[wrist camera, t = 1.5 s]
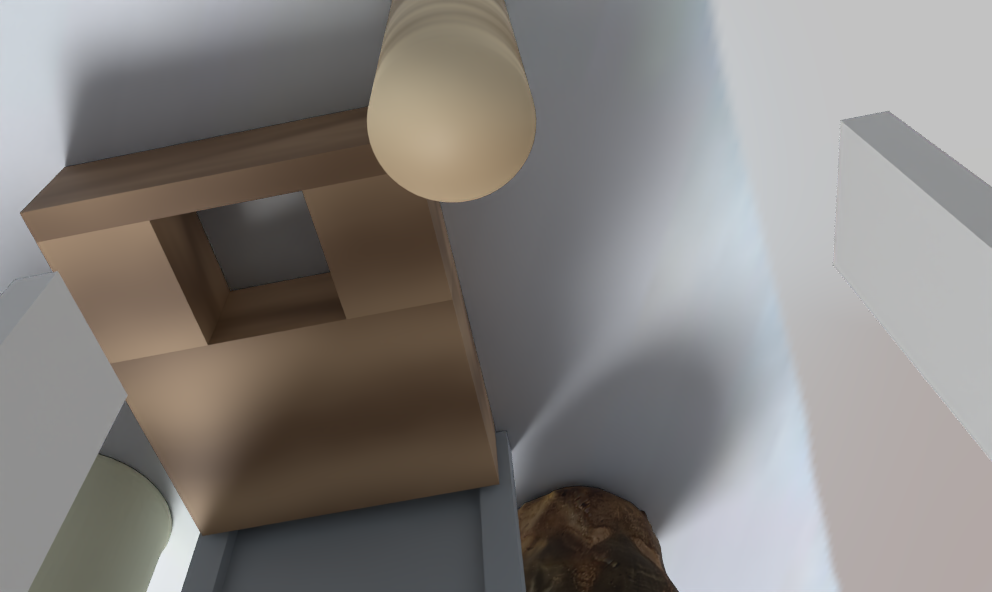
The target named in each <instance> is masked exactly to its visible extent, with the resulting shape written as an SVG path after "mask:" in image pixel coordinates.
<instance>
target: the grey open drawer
mask: <svg viewBox="0 0 992 592" xmlns="http://www.w3.org/2000/svg"><path fill="white" fill-rule="evenodd" d="M495 436H496V448H497V460H498V472H499V484H497V485H492V486H486V487H480V488H475V489H469V490H463V491H457V492H452V493H446V494H440V495H435V496H429V497H423V498H417V499H412V500H406V501H400V502H395V503H389V504H383V505H377V506H372V507H366V508H360V509H354V510H349V511H343V512H337V513H332V514H326V515H320V516H314V517H309V518H303V519H297V520H292V521H286V522H280V523H274V524H269V525H263V526H257V527H252V528H246V529H240V530H234V531H229V532H223V533H217V534H211V535H206V536H202V534H201V533H200V535H199V538H198V541H197V544H196V547H195V550H194V553H193V556H192V559H191V563H190V566H189V569H188V572H187V575H186V578H185V581H184V584H183V587H182V591H181V592H526V587H525V577H524V568H523V558H522V549H521V539H520V530H519V520H518V511H517V501H516V492H515V482H514V473H513V463H512V454H511V449H510V445H509V440H508V436H507V432H506V431H502V432H496V433H495Z"/></svg>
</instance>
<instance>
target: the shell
mask: <svg viewBox="0 0 992 592" xmlns="http://www.w3.org/2000/svg"><path fill="white" fill-rule="evenodd" d="M517 511H518V520H519V530H520V539H521V549H522V558H523V568H524V577H525V587H526V592H678V590H677V588H676V587H675V586H674V584H673V583H672V581H671V580H670V579H669V577H668V576H667V574H666V571H665V568H664V564H663V560H662V553H661V547H660V544H659V541H658V539H657V537H656V535H655V534H654V532H653V530H652V526H651V524H650V523H649V521H648V519H647V516H646V514H645V512H644V511H640V510H639V509H638V508H637V507H636V506H634V505H633V504H632V503H631V502H629V501H627V500H624V499H622V498H620V497H618V496H616V495H613V494H611V493H609V492H606V491H604V490H602V489H600V488H593V487H585V486H576V487H565V488H562V489H559V490H555V491H553V492H551V493H550V494H547V495H545V496H542V497H540V498H537V499H535V500H532V501H530V502H526V503H525V504H524V505H523V506H522V507H521V508H520V509H518V510H517Z"/></svg>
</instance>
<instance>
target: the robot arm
mask: <svg viewBox="0 0 992 592" xmlns="http://www.w3.org/2000/svg"><path fill="white" fill-rule="evenodd" d="M833 256H834V257H833V266H834V267H835V269H836V270H837V271H838V272H839V273H840V275H841V276H842V277H843V278H844V280H845V281H846V282H847V283H848V285H849V286H850V287H851V288H852V290H853V291H854V292H855V293H856V294H857V296H858V297H859V298H860V299H861V301H862V302H863V303H864V304H865V306H866V307H867V308H868V309H869V311H870V312H871V313H872V314H873V316H874V317H875V318H876V319H877V320H878V322H879V323H880V324H881V325H882V327H883V328H884V329H885V330H886V332H887V333H888V334H889V335H890V337H891V338H892V339H893V340H894V341H895V343H896V344H897V345H898V346H899V348H900V349H901V350H902V351H903V353H904V354H905V355H906V356H907V357H908V359H909V360H910V361H911V363H912V364H913V365H914V366H915V367H916V369H917V370H918V371H919V372H920V374H921V375H922V376H923V377H924V379H925V380H926V381H927V382H928V383H929V385H930V386H931V387H932V388H933V390H934V391H935V392H936V393H937V394H938V396H939V397H940V398H941V400H942V401H943V402H944V403H945V405H946V406H947V407H948V408H949V409H950V410H951V412H952V413H953V414H954V416H955V417H956V418H957V419H958V421H959V422H960V423H961V424H962V425H963V427H964V428H965V429H966V430H967V432H968V433H969V434H970V435H971V437H972V438H973V439H974V440H975V442H976V443H977V444H978V445H979V447H980V448H981V449H982V450H983V451H984V453H985V454H986V455H987V456H988V458H989V459H990V460H991V461H992V187H991V186H990V185H988V184H987V183H986V182H984V181H983V180H982V179H980V178H979V177H977V176H976V175H975V174H973V173H972V172H970V171H969V170H968V169H967V168H965V167H964V166H963V165H961V164H960V163H959V162H957V161H956V160H954V159H953V158H952V157H950V156H949V155H948V154H946V153H945V152H944V151H942V150H941V149H940V148H938V147H937V146H935V145H934V144H933V143H931V142H930V141H929V140H927V139H926V138H925V137H923V136H922V135H921V134H919V133H918V132H917V131H915V130H914V129H912V128H911V127H910V126H908V125H907V124H906V123H904V122H903V121H902V120H900V119H899V118H898V117H896V116H895V115H893V114H892V113H891V112H889V111H886V112H881V113H876V114H870V115H865V116H860V117H855V118H849V119H844V120H841V121H840V140H839V159H838V178H837V197H836V217H835V236H834V255H833ZM127 396H128V395H127V393H126V391H125V390H124V388H123V386H122V384H121V382H120V381H119V379H118V377H117V375H116V374H115V372H114V370H113V368H112V366H111V365H110V363H109V361H108V359H107V357H106V356H105V354H104V352H103V350H102V349H101V347H100V345H99V343H98V341H97V340H96V338H95V336H94V334H93V333H92V331H91V329H90V327H89V325H88V324H87V322H86V320H85V318H84V317H83V315H82V313H81V311H80V309H79V308H78V306H77V304H76V302H75V301H74V299H73V297H72V295H71V293H70V292H69V290H68V288H67V286H66V285H65V283H64V281H63V279H62V277H61V276H60V274H59V272H58V271H56V272H51V273H46V274H41V275H36V276H30V277H25V278H20V279H15V280H14V281H13V282H12V283H11V284H10V286H9V287H8V288H7V289H6V290H5V291H4V293H3V294H2V295H1V296H0V592H28V590H29V588H30V586H31V584H32V582H33V580H34V579H35V577H36V575H37V573H38V571H39V569H40V567H41V565H42V563H43V561H44V559H45V557H46V555H47V553H48V551H49V549H50V547H51V545H52V543H53V541H54V539H55V537H56V535H57V533H58V531H59V529H60V527H61V525H62V524H63V522H64V520H65V518H66V516H67V514H68V512H69V510H70V508H71V506H72V504H73V502H74V500H75V498H76V496H77V494H78V492H79V490H80V488H81V486H82V484H83V482H84V480H85V478H86V476H87V474H88V472H89V470H90V468H91V467H92V465H93V463H94V461H95V459H96V457H97V455H98V453H99V451H100V449H101V447H102V445H103V443H104V441H105V439H106V437H107V435H108V433H109V431H110V429H111V427H112V425H113V423H114V421H115V419H116V417H117V415H118V413H119V412H120V410H121V408H122V406H123V404H124V402H125V400H126V398H127Z"/></svg>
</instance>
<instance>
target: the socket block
mask: <svg viewBox="0 0 992 592" xmlns="http://www.w3.org/2000/svg"><path fill="white" fill-rule="evenodd" d="M367 111H368V107H363V108H358V109H353V110H348V111H343V112H338V113H333V114H328V115H323V116H318V117H313V118H308V119H303V120H298V121H293V122H288V123H283V124H278V125H273V126H268V127H263V128H258V129H253V130H248V131H243V132H238V133H233V134H228V135H223V136H218V137H213V138H208V139H203V140H198V141H193V142H188V143H183V144H178V145H173V146H168V147H163V148H158V149H153V150H148V151H143V152H138V153H133V154H128V155H123V156H118V157H113V158H108V159H103V160H98V161H93V162H88V163H83V164H78V165H73V166H68V167H64V168H63V169H62V170H61V171H60V172H59V173H58V174H57V175H56V177H55V178H54V179H53V180H52V181H51V182H50V183H49V184H48V185H47V186H46V187H45V188H44V189H43V190H42V191H41V192H40V193H39V194H38V195H37V196H36V197H35V198H34V199H33V200H32V201H31V202H30V203H29V204H28V205H27V206H26V207H25V208H24V209H23V210H22V211H21V212H20V214H21V216H22V218H23V220H24V222H25V223H26V225H27V227H28V229H29V230H30V232H31V234H32V236H33V237H34V239H35V241H36V243H37V245H38V246H39V248H40V250H41V252H42V253H43V255H44V257H45V259H46V260H47V262H48V264H49V266H50V268H51V269H52V271H53V272H56V271H58V272H59V274H60V276H61V277H62V279H63V281H64V283H65V285H66V286H67V288H68V290H69V292H70V293H71V295H72V297H73V299H74V301H75V302H76V304H77V306H78V308H79V309H80V311H81V313H82V315H83V317H84V318H85V320H86V322H87V324H88V325H89V327H90V329H91V331H92V333H93V334H94V336H95V338H96V340H97V341H98V343H99V345H100V347H101V349H102V350H103V352H104V354H105V356H106V357H107V359H108V361H109V363H110V365H111V366H112V368H113V370H114V372H115V374H116V375H117V377H118V379H119V381H120V382H121V384H122V386H123V388H124V390H125V391H126V393H127V395H128V396H127V398H126V402H127V404H128V405H129V407H130V409H131V411H132V412H133V414H134V416H135V418H136V420H137V421H138V423H139V425H140V427H141V428H142V430H143V432H144V434H145V435H146V437H147V439H148V441H149V443H150V444H151V446H152V448H153V450H154V451H155V453H156V455H157V457H158V458H159V460H160V462H161V464H162V465H163V467H164V469H165V471H166V473H167V474H168V476H169V478H170V480H171V481H172V483H173V485H174V487H175V488H176V490H177V492H178V494H179V496H180V497H181V499H182V501H183V503H184V504H185V506H186V508H187V510H188V511H189V513H190V515H191V517H192V519H193V520H194V522H195V524H196V526H197V527H198V529H199V531H200V533H201V534H202V536H206V535H211V534H217V533H223V532H229V531H234V530H240V529H246V528H252V527H257V526H263V525H269V524H274V523H280V522H286V521H292V520H297V519H303V518H309V517H314V516H320V515H326V514H332V513H337V512H343V511H349V510H354V509H360V508H366V507H372V506H377V505H383V504H389V503H395V502H400V501H406V500H412V499H417V498H423V497H429V496H435V495H440V494H446V493H452V492H457V491H463V490H469V489H475V488H480V487H486V486H492V485H497V484H499V472H498V460H497V448H496V436H495V425H494V421H493V417H492V413H491V409H490V405H489V400H488V396H487V392H486V388H485V384H484V380H483V376H482V372H481V368H480V364H479V360H478V356H477V352H476V348H475V344H474V340H473V336H472V331H471V327H470V323H469V319H468V315H467V311H466V307H465V303H464V299H463V295H462V291H461V287H460V283H459V279H458V275H457V271H456V267H455V262H454V258H453V254H452V250H451V246H450V242H449V238H448V234H447V230H446V226H445V222H444V218H443V214H442V210H441V206H440V202H439V201H434V200H430V199H426V198H423V197H421V196H418V195H416V194H414V193H412V192H410V191H408V190H406V189H405V188H403V187H402V186H400V185H399V184H398V183H397V182H395V181H394V180H393V179H392V178H391V177H390V176H389V175H388V174H387V173H386V171H385V170H384V169H383V168H382V166H381V165H380V163H379V162H378V160H377V158H376V156H375V154H374V152H373V150H372V147H371V144H370V140H369V136H368V130H367ZM298 191H302V192H303V195H304V198H305V201H306V204H307V206H308V209H309V212H310V215H311V218H312V221H313V224H314V227H315V230H316V232H317V235H318V238H319V241H320V244H321V247H322V250H323V253H324V256H325V258H326V261H327V264H328V267H329V270H330V272H329V273H323V274H318V275H313V276H308V277H302V278H297V279H292V280H286V281H281V282H276V283H271V284H265V285H260V286H255V287H250V288H244V289H239V290H234V291H230V289H229V287H228V285H227V283H226V280H225V278H224V276H223V273H222V271H221V269H220V266H219V264H218V262H217V259H216V257H215V255H214V252H213V250H212V248H211V246H210V243H209V241H208V239H207V236H206V234H205V232H204V229H203V227H202V225H201V222H200V220H199V218H198V215H197V213H196V211H200V210H206V209H211V208H216V207H221V206H226V205H231V204H236V203H241V202H246V201H252V200H257V199H262V198H267V197H272V196H277V195H282V194H287V193H292V192H298Z"/></svg>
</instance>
